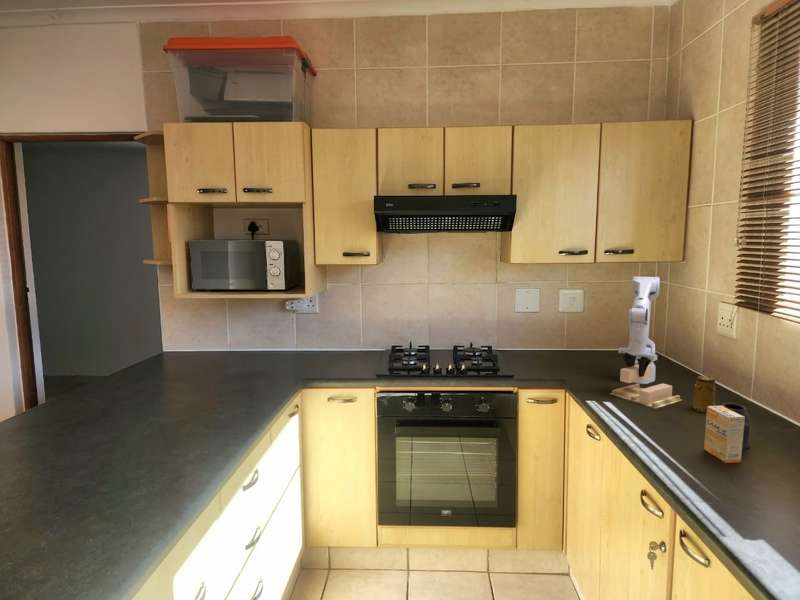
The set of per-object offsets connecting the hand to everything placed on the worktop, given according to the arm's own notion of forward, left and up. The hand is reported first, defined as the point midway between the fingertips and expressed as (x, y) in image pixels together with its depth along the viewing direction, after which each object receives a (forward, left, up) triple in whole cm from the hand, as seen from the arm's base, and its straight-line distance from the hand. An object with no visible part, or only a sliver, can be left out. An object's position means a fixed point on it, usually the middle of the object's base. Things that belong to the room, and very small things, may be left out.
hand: (636, 375), depth 178 cm
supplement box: (+24, +43, -8) cm, 50 cm away
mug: (+14, +41, -8) cm, 44 cm away
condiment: (-5, +23, -8) cm, 25 cm away
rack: (0, +4, -8) cm, 9 cm away
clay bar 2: (0, +8, -7) cm, 11 cm away
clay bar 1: (0, 0, -2) cm, 2 cm away
